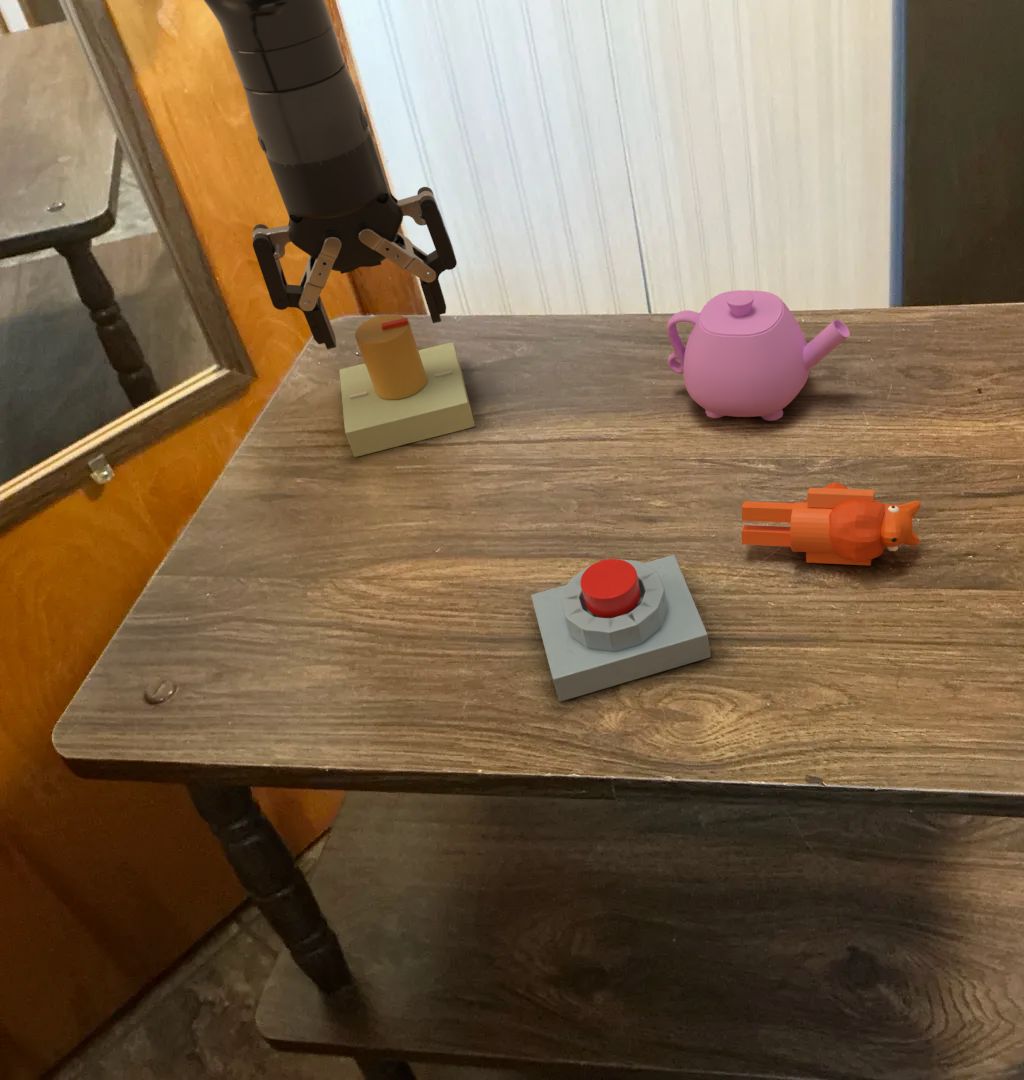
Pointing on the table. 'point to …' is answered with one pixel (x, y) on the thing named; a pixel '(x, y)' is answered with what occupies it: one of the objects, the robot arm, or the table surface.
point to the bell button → (610, 588)
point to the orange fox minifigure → (833, 525)
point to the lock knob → (391, 356)
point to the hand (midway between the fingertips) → (384, 330)
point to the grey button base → (620, 632)
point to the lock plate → (406, 405)
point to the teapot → (747, 354)
